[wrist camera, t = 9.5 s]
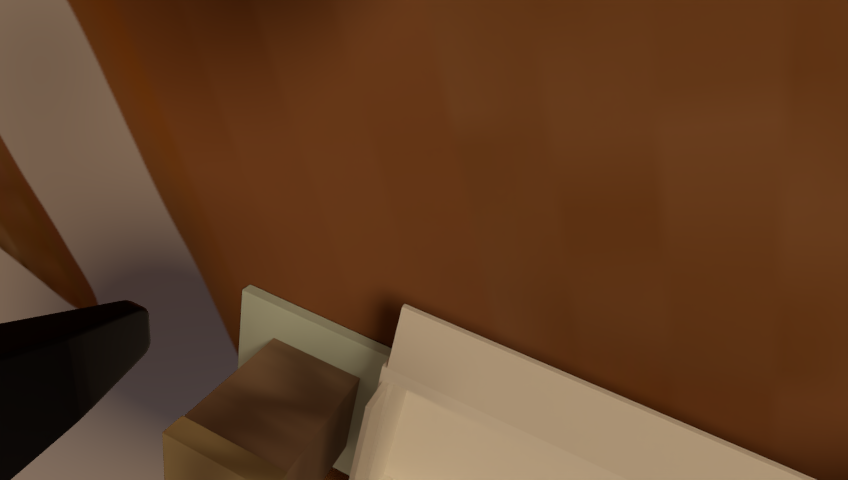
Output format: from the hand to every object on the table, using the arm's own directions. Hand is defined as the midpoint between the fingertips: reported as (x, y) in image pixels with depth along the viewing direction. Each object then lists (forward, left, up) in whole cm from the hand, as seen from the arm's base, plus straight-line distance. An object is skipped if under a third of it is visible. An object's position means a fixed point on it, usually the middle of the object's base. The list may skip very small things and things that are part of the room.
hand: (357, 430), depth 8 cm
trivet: (+7, +13, -12) cm, 20 cm away
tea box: (+7, +14, -12) cm, 19 cm away
